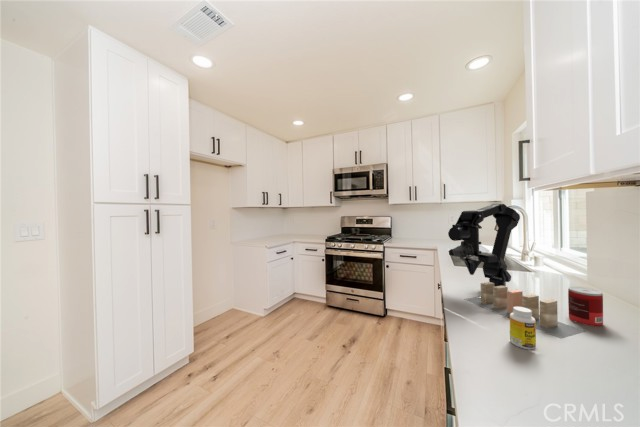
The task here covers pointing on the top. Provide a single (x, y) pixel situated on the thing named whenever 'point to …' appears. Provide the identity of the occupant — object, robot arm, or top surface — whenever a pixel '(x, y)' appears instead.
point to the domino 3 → (514, 299)
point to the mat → (557, 331)
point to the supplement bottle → (522, 328)
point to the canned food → (585, 306)
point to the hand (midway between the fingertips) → (471, 274)
